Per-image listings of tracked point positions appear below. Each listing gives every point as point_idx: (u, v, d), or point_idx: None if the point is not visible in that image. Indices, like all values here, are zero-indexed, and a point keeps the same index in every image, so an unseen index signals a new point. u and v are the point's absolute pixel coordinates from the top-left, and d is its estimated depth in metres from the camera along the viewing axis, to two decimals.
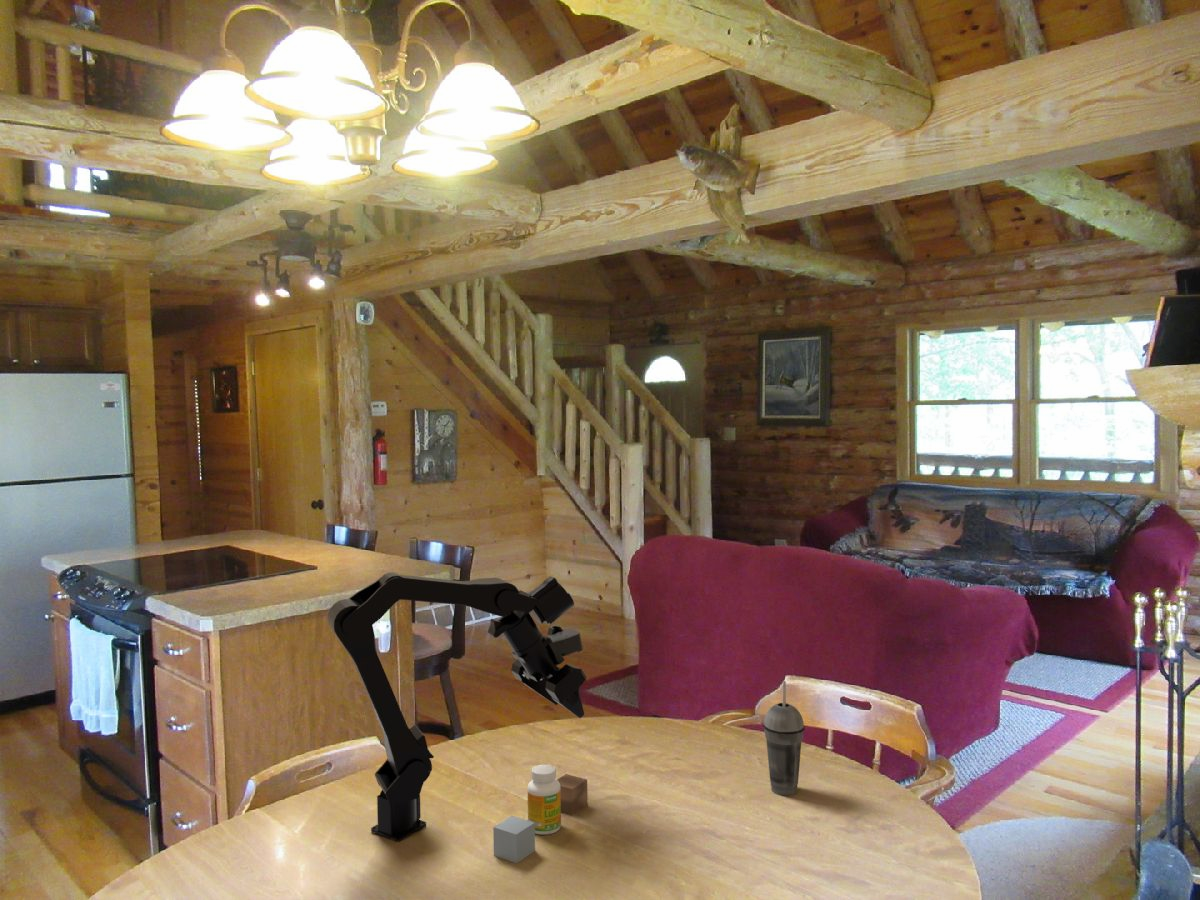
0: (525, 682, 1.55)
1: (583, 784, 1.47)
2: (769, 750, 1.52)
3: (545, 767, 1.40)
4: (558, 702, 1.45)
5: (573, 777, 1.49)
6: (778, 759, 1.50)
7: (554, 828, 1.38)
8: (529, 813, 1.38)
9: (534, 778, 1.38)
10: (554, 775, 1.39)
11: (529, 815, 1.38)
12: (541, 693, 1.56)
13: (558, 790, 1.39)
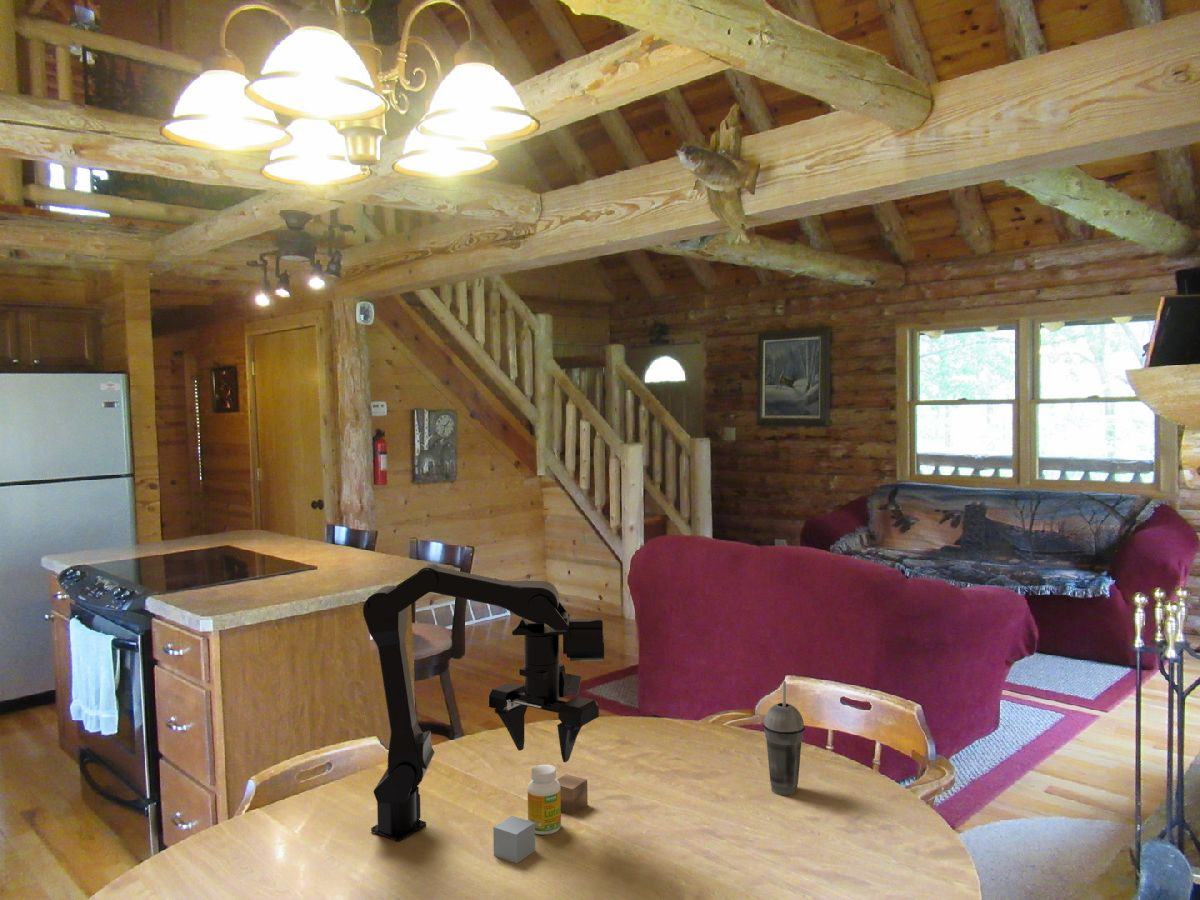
0: (504, 712, 1.40)
1: (583, 784, 1.47)
2: (769, 750, 1.52)
3: (545, 767, 1.40)
4: (565, 731, 1.33)
5: (573, 777, 1.49)
6: (778, 759, 1.50)
7: (554, 828, 1.38)
8: (529, 813, 1.38)
9: (534, 778, 1.38)
10: (554, 775, 1.39)
11: (529, 815, 1.38)
12: (514, 730, 1.41)
13: (558, 790, 1.39)
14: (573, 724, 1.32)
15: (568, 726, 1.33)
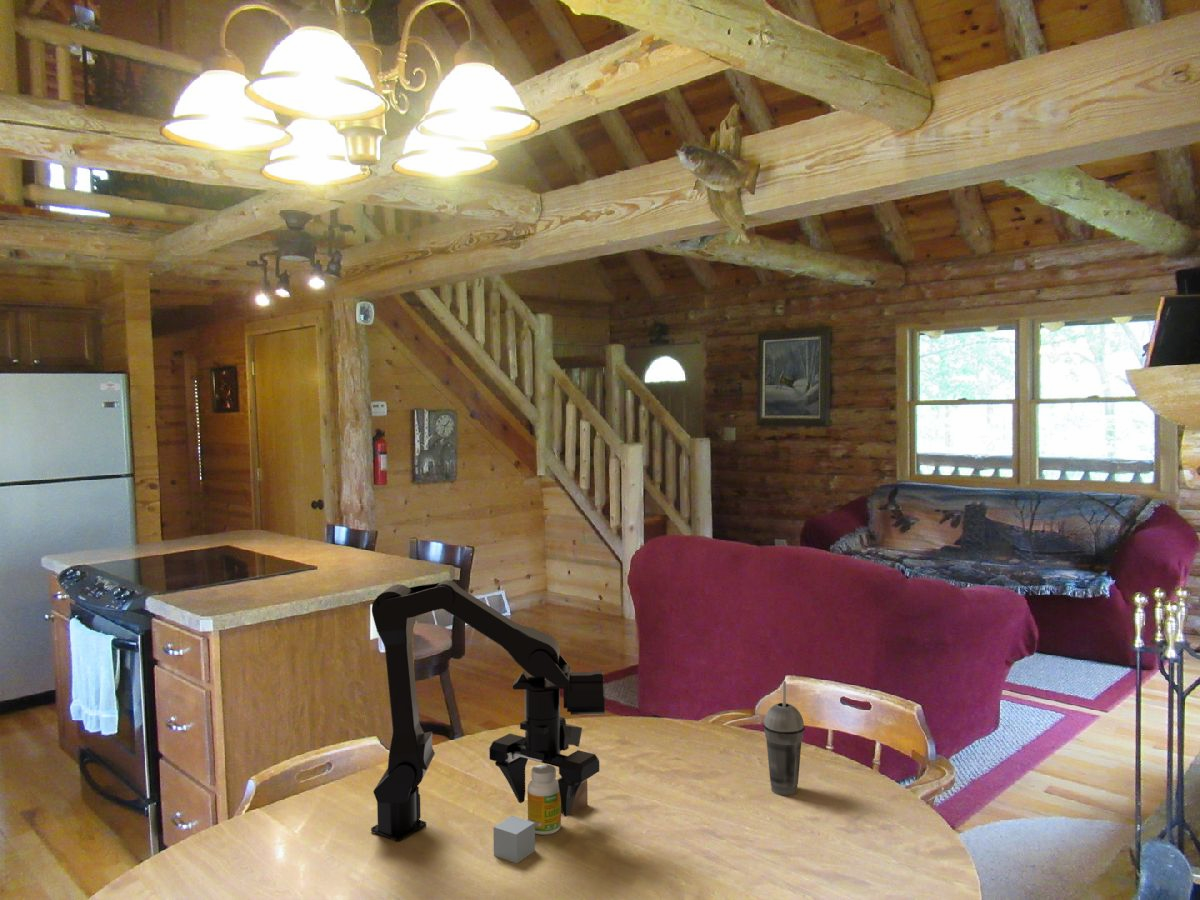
0: (505, 765, 1.40)
1: (583, 784, 1.47)
2: (769, 750, 1.52)
3: (545, 767, 1.40)
4: (566, 786, 1.34)
5: None
6: (778, 759, 1.50)
7: (554, 828, 1.38)
8: (529, 813, 1.38)
9: (534, 778, 1.38)
10: (554, 775, 1.39)
11: (529, 815, 1.38)
12: (514, 783, 1.41)
13: (558, 790, 1.39)
14: (574, 780, 1.32)
15: (569, 782, 1.33)
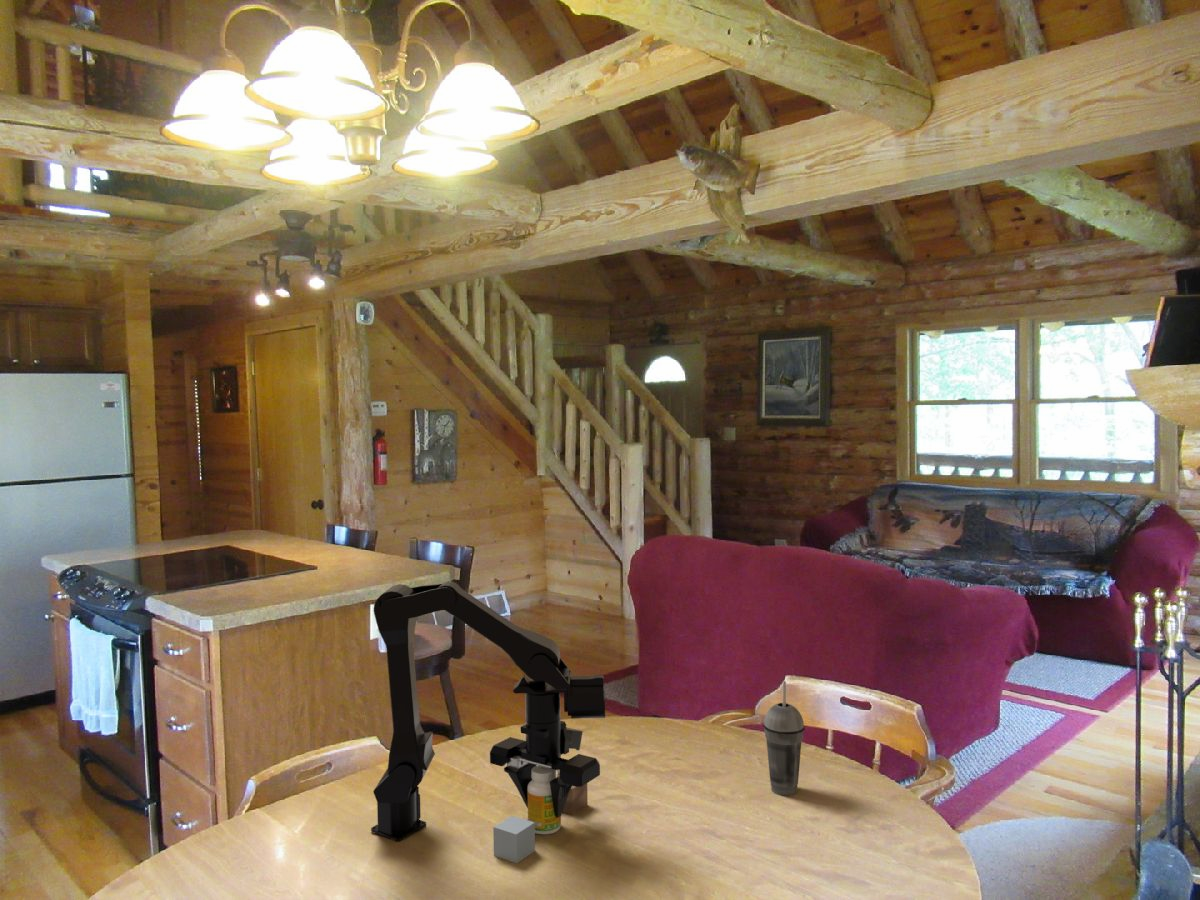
0: (514, 771, 1.39)
1: None
2: (769, 750, 1.52)
3: (545, 767, 1.40)
4: (557, 788, 1.35)
5: None
6: (778, 759, 1.50)
7: (554, 828, 1.38)
8: (529, 813, 1.38)
9: (534, 778, 1.38)
10: (554, 775, 1.39)
11: (529, 815, 1.38)
12: (523, 789, 1.40)
13: None
14: (574, 784, 1.32)
15: (560, 783, 1.34)
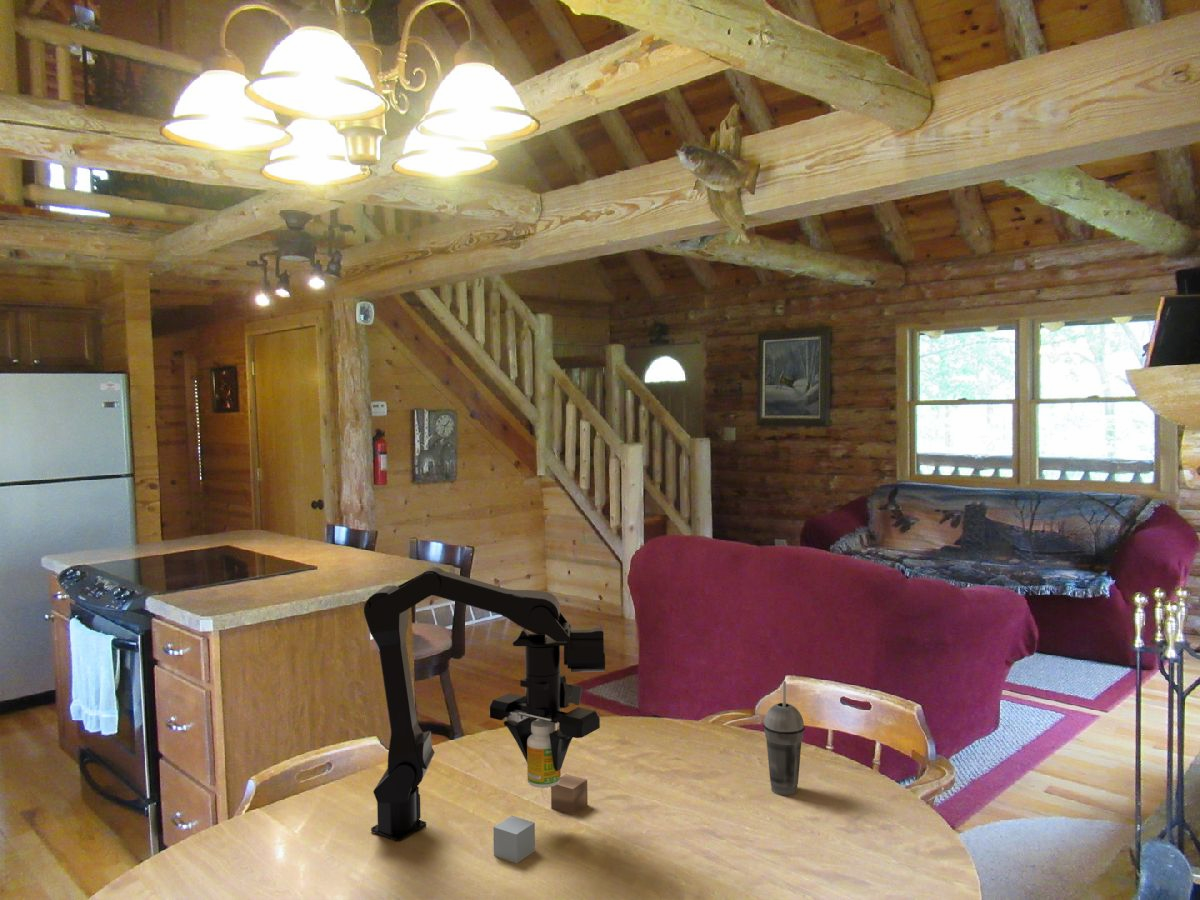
0: (513, 724, 1.39)
1: (583, 784, 1.47)
2: (769, 750, 1.52)
3: (545, 721, 1.40)
4: (557, 740, 1.34)
5: (573, 777, 1.49)
6: (778, 759, 1.50)
7: (554, 782, 1.38)
8: (529, 766, 1.38)
9: (534, 731, 1.38)
10: (554, 729, 1.39)
11: (529, 768, 1.38)
12: (523, 743, 1.40)
13: None
14: (574, 735, 1.32)
15: (560, 735, 1.34)
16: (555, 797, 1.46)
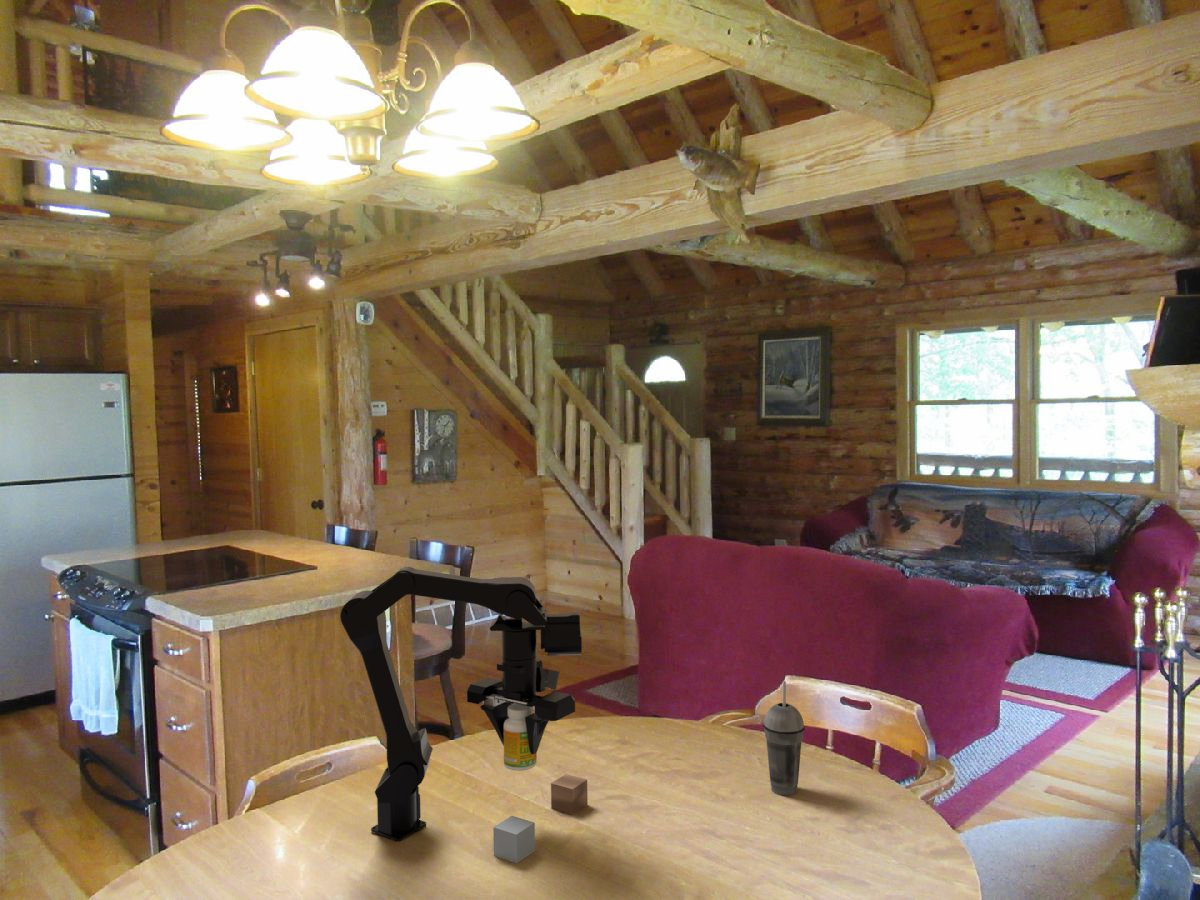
0: (490, 708, 1.40)
1: (583, 784, 1.47)
2: (769, 750, 1.52)
3: (521, 705, 1.41)
4: (533, 723, 1.36)
5: (573, 777, 1.49)
6: (778, 759, 1.50)
7: (530, 765, 1.39)
8: (505, 750, 1.39)
9: (510, 715, 1.39)
10: (530, 712, 1.40)
11: (505, 752, 1.39)
12: (499, 727, 1.41)
13: None
14: (549, 718, 1.33)
15: (535, 718, 1.35)
16: (555, 797, 1.46)
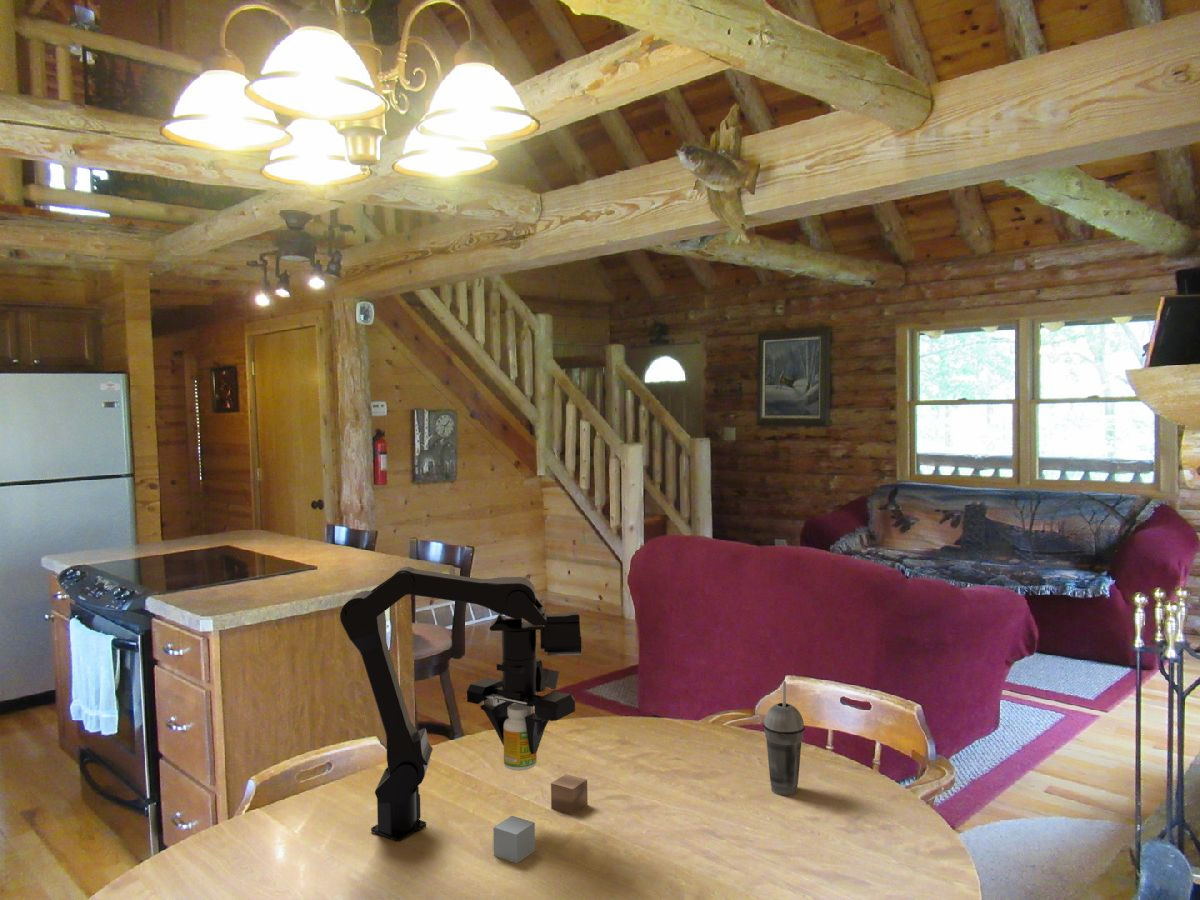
0: (490, 708, 1.40)
1: (583, 784, 1.47)
2: (769, 750, 1.52)
3: (521, 704, 1.41)
4: (532, 723, 1.36)
5: (573, 777, 1.49)
6: (778, 759, 1.50)
7: (530, 764, 1.39)
8: (505, 750, 1.39)
9: (510, 715, 1.39)
10: (530, 712, 1.40)
11: (505, 752, 1.39)
12: (499, 727, 1.41)
13: None
14: (549, 718, 1.33)
15: (535, 718, 1.35)
16: (555, 797, 1.46)
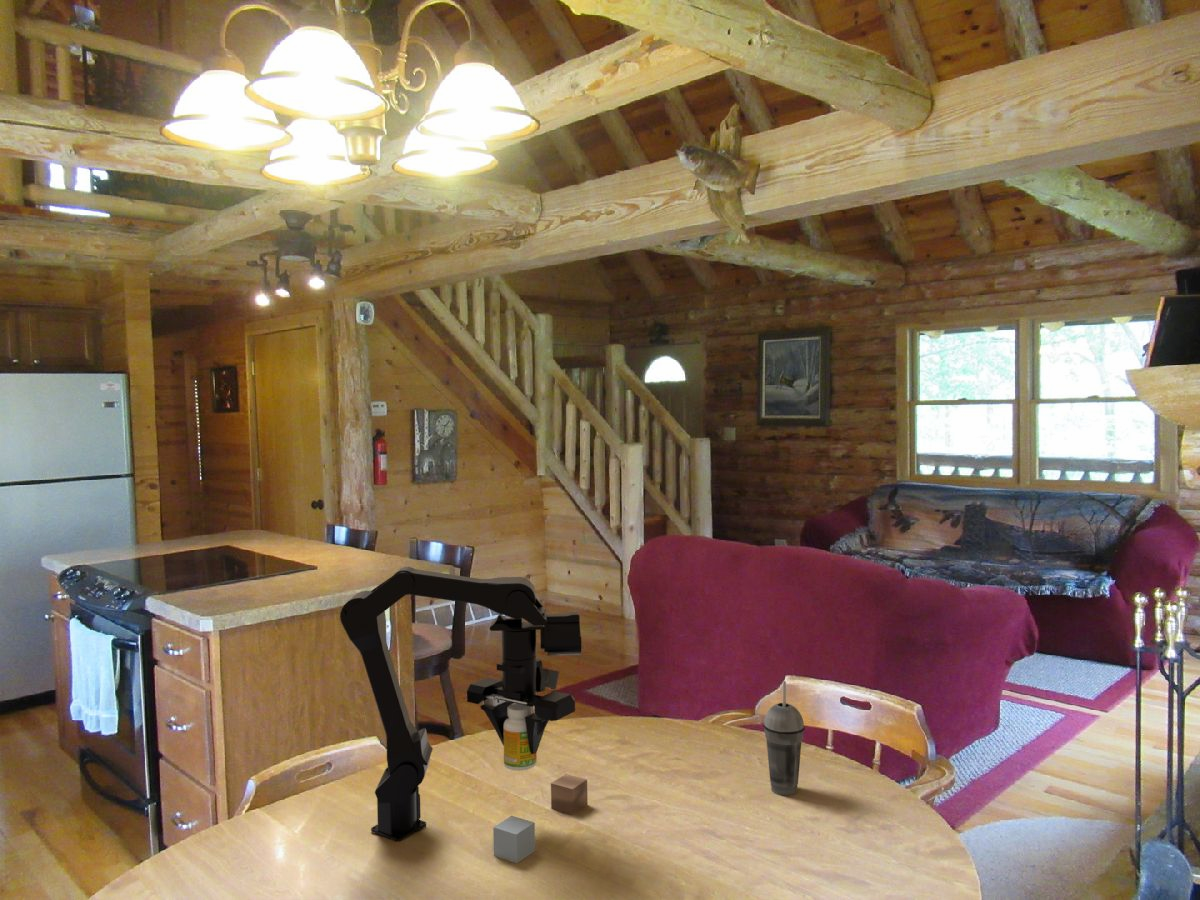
0: (490, 708, 1.40)
1: (583, 784, 1.47)
2: (769, 750, 1.52)
3: (521, 704, 1.41)
4: (532, 723, 1.36)
5: (573, 777, 1.49)
6: (778, 759, 1.50)
7: (530, 764, 1.39)
8: (505, 750, 1.39)
9: (510, 715, 1.39)
10: (530, 712, 1.40)
11: (505, 752, 1.39)
12: (499, 727, 1.41)
13: None
14: (549, 718, 1.33)
15: (535, 718, 1.35)
16: (555, 797, 1.46)
